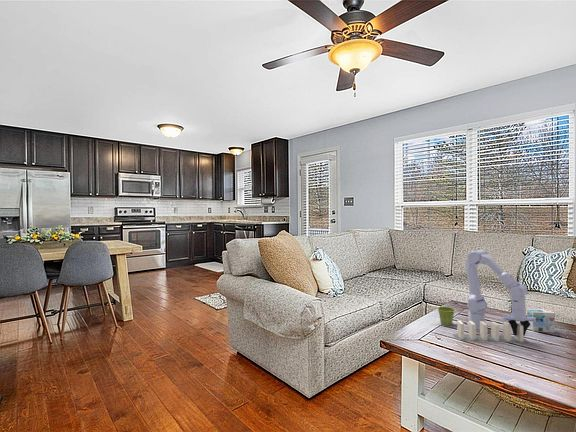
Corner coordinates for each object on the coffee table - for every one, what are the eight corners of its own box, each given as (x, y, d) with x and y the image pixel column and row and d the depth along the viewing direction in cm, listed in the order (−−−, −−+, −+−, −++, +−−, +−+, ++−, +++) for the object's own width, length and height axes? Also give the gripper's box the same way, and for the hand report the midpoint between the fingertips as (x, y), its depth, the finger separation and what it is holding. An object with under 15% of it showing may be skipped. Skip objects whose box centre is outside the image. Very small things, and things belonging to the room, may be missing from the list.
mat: (452, 334, 172) (452, 334, 172) (522, 337, 166) (522, 336, 166) (457, 340, 164) (457, 340, 164) (531, 343, 158) (531, 343, 158)
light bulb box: (532, 331, 173) (532, 311, 172) (526, 327, 179) (526, 308, 179) (555, 332, 170) (555, 312, 170) (548, 328, 177) (548, 309, 176)
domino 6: (519, 341, 160) (519, 325, 160) (514, 337, 165) (514, 322, 165) (523, 341, 160) (523, 326, 160) (518, 337, 165) (518, 322, 164)
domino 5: (507, 341, 161) (507, 325, 161) (503, 337, 166) (502, 321, 166) (511, 341, 161) (511, 325, 161) (506, 337, 166) (506, 322, 165)
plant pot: (442, 319, 195) (441, 305, 195) (458, 323, 187) (457, 308, 187) (434, 323, 189) (434, 308, 189) (450, 327, 182) (450, 312, 181)
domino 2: (472, 339, 164) (472, 324, 164) (468, 335, 169) (468, 320, 169) (475, 339, 164) (475, 324, 164) (471, 335, 169) (471, 320, 168)
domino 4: (495, 340, 162) (495, 325, 162) (491, 336, 167) (491, 321, 167) (499, 340, 162) (499, 325, 162) (494, 336, 167) (494, 321, 166)
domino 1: (460, 339, 165) (460, 323, 165) (457, 335, 170) (457, 320, 170) (464, 339, 165) (463, 323, 165) (460, 335, 170) (460, 320, 169)
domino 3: (484, 340, 163) (483, 324, 163) (480, 336, 168) (479, 321, 168) (487, 340, 163) (487, 324, 163) (483, 336, 168) (483, 321, 167)
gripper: (506, 310, 159) (507, 337, 160) (539, 311, 157) (539, 338, 157) (500, 306, 166) (500, 332, 167) (531, 307, 164) (531, 333, 164)
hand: (518, 335), depth 162 cm, fingers open, 3 cm apart
